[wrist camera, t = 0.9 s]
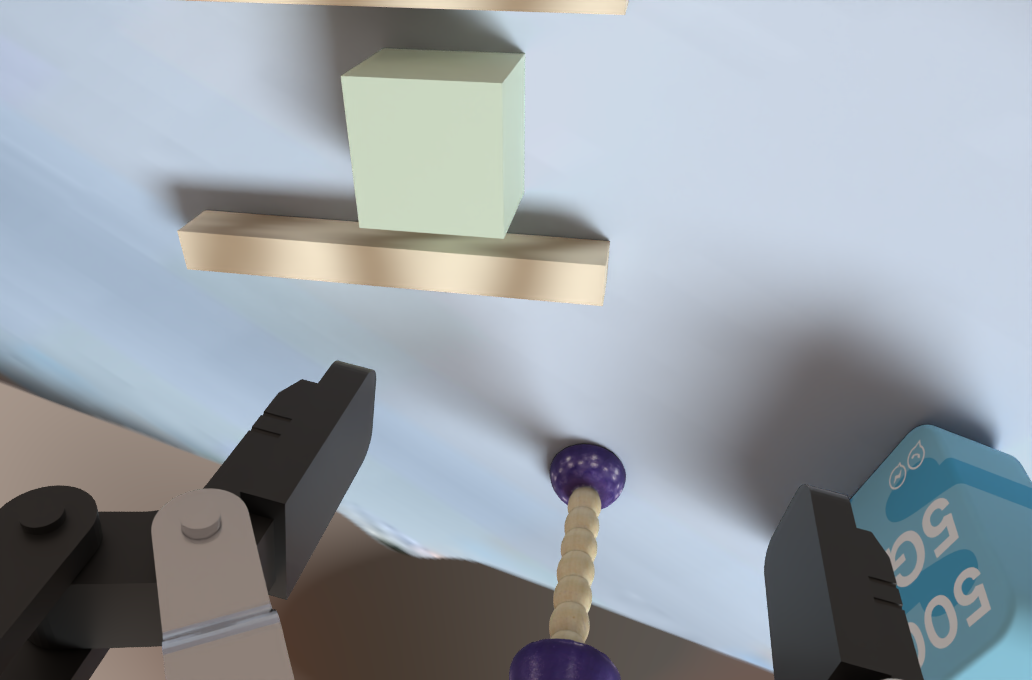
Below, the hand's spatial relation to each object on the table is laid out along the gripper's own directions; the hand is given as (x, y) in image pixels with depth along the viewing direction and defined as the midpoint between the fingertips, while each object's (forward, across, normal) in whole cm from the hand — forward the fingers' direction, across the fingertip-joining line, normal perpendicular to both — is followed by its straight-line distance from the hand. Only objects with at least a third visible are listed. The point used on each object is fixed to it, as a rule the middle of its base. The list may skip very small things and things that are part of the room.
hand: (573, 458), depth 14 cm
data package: (+22, -18, +16) cm, 33 cm away
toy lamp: (+21, -2, +19) cm, 28 cm away
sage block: (+21, +8, +2) cm, 22 cm away
